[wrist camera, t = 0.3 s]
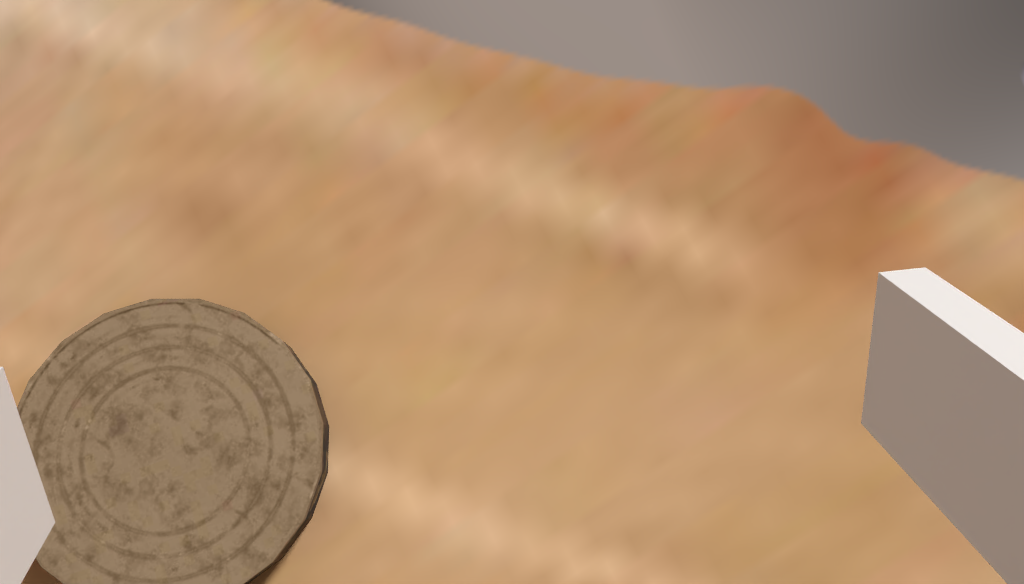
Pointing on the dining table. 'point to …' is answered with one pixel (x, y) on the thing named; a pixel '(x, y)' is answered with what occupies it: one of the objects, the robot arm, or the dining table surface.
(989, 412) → the robot arm
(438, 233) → the dining table surface
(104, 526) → the round stone disc
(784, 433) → the dining table surface
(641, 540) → the dining table surface
